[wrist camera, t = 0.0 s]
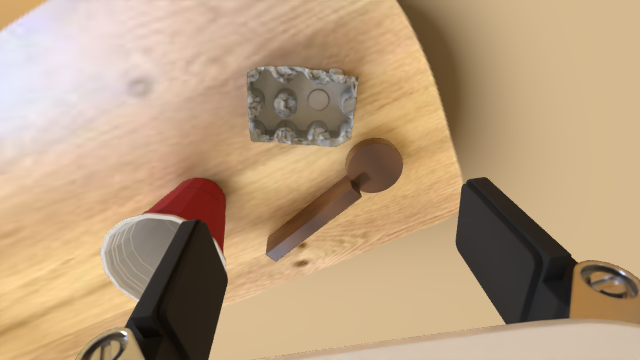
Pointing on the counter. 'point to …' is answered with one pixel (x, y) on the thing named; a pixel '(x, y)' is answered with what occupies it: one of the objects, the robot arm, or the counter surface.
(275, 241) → the spoon
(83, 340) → the counter surface
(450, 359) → the robot arm
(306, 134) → the crystal geode chunk
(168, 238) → the plastic cup
